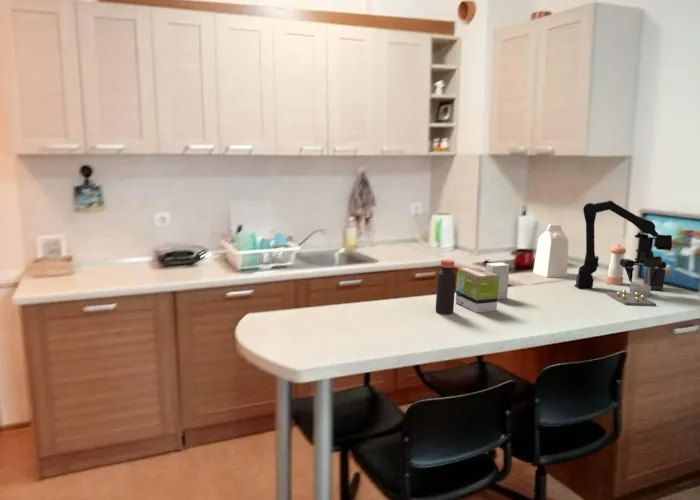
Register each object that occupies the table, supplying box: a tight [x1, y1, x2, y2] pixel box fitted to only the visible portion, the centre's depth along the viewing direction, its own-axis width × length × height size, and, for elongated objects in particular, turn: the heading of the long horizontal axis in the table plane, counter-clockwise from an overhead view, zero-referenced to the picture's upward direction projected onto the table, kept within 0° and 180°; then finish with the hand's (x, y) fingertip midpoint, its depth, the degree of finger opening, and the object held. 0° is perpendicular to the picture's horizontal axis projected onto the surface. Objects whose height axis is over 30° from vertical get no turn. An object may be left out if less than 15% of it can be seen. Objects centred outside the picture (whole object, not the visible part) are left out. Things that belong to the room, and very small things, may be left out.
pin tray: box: [606, 289, 657, 307], centre depth 257 cm, size 13×18×3 cm
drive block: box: [628, 280, 652, 298], centre depth 269 cm, size 5×9×5 cm, turn 179°
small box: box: [642, 267, 666, 292], centre depth 282 cm, size 11×6×10 cm, turn 168°
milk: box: [532, 223, 569, 278], centre depth 304 cm, size 12×12×26 cm
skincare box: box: [485, 261, 510, 300], centre depth 251 cm, size 8×6×15 cm
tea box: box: [455, 266, 499, 313], centre depth 235 cm, size 15×10×15 cm
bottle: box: [435, 259, 457, 315], centre depth 226 cm, size 7×7×20 cm
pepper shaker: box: [605, 244, 627, 286], centre depth 289 cm, size 7×7×19 cm
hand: (640, 282), depth 269 cm, fingers open, 9 cm apart
